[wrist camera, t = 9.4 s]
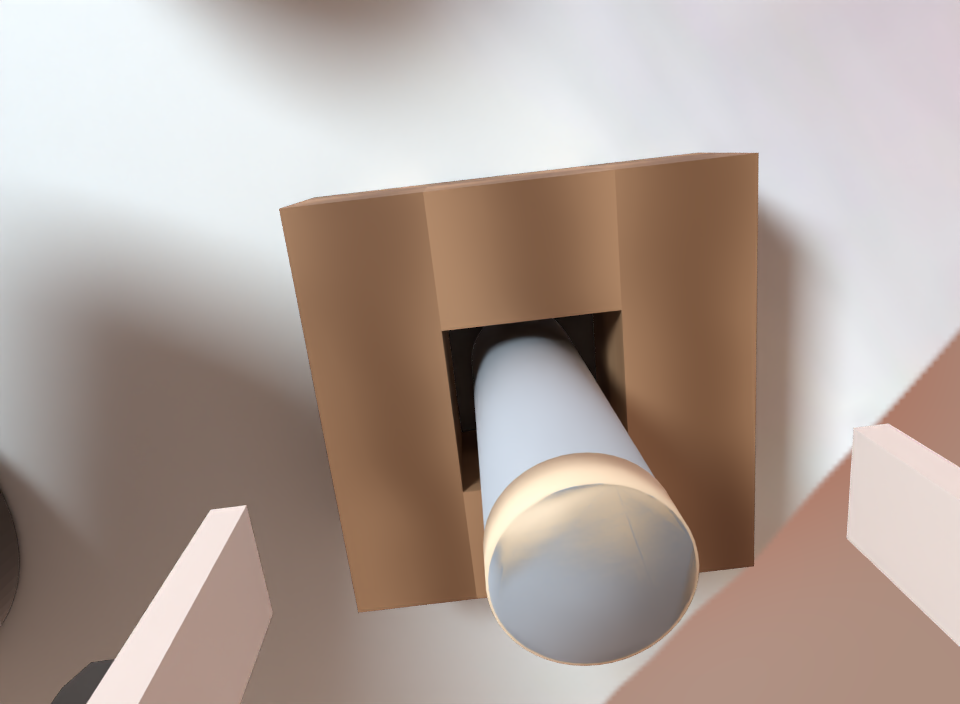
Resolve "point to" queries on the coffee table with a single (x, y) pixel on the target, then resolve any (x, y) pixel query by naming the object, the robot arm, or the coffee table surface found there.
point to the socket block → (516, 298)
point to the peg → (570, 507)
